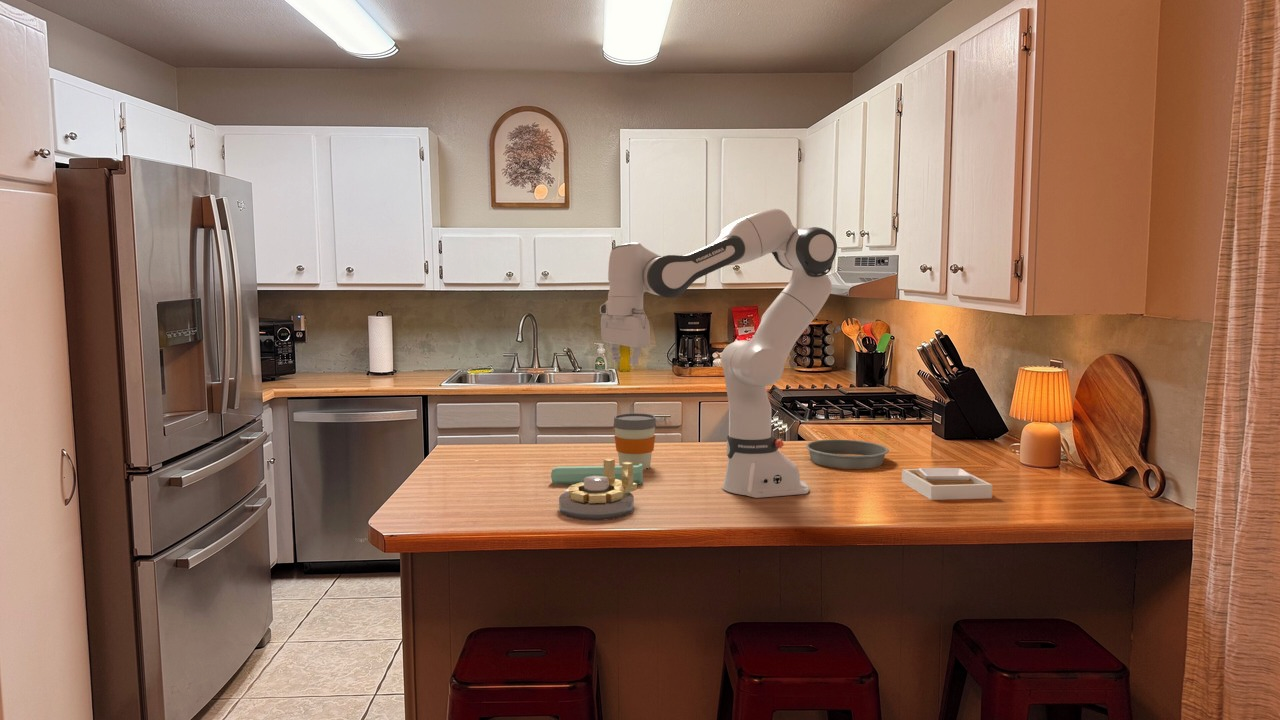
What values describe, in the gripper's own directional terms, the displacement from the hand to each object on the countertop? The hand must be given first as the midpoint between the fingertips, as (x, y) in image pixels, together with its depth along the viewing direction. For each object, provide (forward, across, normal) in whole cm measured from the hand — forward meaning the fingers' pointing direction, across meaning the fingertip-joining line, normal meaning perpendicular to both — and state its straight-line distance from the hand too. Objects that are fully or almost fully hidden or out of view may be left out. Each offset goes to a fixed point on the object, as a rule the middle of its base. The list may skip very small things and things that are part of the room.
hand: (624, 363), depth 205 cm
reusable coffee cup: (+34, +28, -18) cm, 48 cm away
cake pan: (+34, +4, -79) cm, 86 cm away
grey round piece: (+34, -7, +11) cm, 37 cm away
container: (+35, +16, 0) cm, 38 cm away
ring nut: (+31, -6, +9) cm, 33 cm away
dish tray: (+33, -35, -77) cm, 91 cm away
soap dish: (+33, -34, -78) cm, 91 cm away
